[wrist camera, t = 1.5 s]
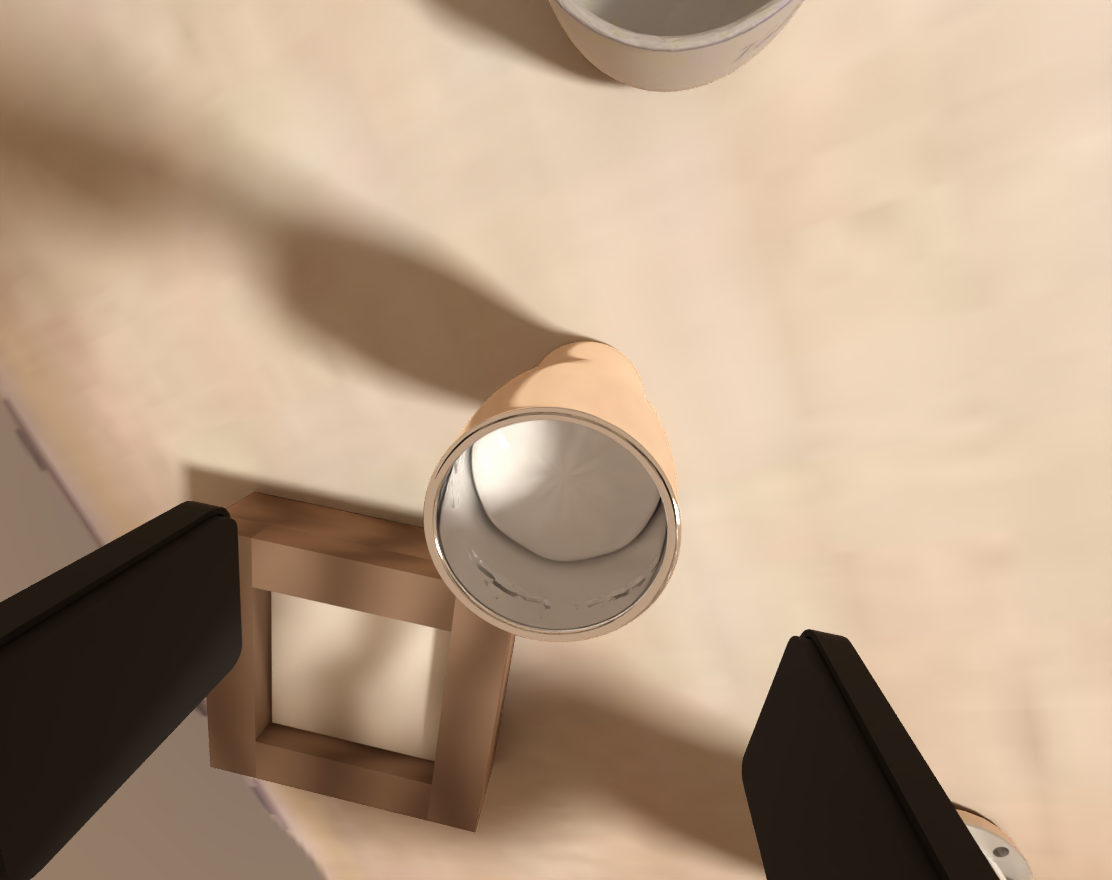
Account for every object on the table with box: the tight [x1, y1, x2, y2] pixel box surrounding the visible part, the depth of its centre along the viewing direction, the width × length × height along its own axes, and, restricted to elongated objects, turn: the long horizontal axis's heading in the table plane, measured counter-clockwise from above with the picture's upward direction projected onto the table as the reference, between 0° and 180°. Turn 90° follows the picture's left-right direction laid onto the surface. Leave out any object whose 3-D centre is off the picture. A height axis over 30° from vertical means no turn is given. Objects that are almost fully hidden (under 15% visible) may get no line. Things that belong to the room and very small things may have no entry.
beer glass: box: [423, 341, 682, 642], centre depth 20 cm, size 7×7×15 cm
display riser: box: [207, 492, 515, 832], centre depth 31 cm, size 17×17×4 cm
